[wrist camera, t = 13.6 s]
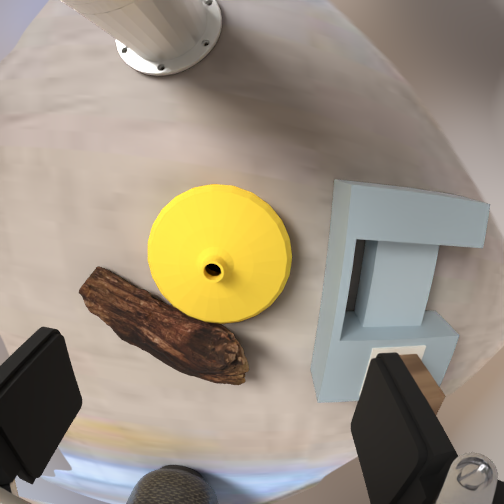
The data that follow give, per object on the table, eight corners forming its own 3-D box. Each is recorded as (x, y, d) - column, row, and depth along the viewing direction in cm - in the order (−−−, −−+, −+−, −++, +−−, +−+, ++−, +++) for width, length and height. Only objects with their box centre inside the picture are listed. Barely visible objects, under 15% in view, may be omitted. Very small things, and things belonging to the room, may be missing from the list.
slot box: (334, 179, 34) (352, 185, 27) (457, 195, 34) (491, 204, 27) (310, 368, 42) (318, 404, 35) (418, 363, 41) (438, 393, 34)
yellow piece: (226, 334, 40) (221, 367, 34) (131, 253, 38) (106, 273, 31) (317, 248, 37) (330, 268, 30) (215, 152, 34) (205, 151, 27)
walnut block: (379, 355, 32) (403, 402, 25) (416, 353, 32) (445, 396, 25) (368, 389, 34) (387, 436, 26) (404, 386, 34) (428, 430, 26)
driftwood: (266, 324, 40) (267, 361, 32) (243, 371, 42) (240, 411, 34) (100, 259, 38) (68, 282, 30) (90, 311, 40) (63, 340, 32)
